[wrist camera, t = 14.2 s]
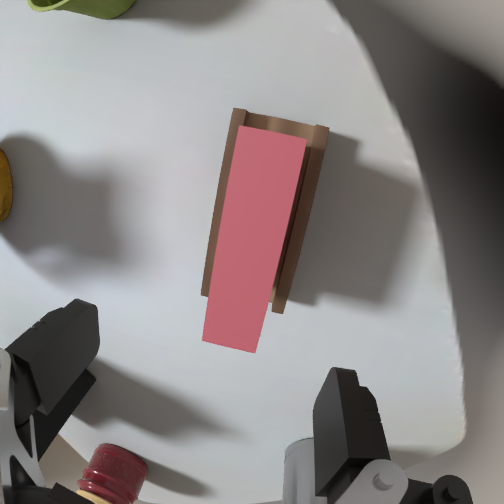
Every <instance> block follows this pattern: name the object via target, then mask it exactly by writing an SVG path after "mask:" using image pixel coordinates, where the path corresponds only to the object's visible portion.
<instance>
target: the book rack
mask: <svg viewBox="0 0 504 504" xmlns="http://www.w3.org/2000/svg"><path fill="white" fill-rule="evenodd" d="M239 125H240V126H246V127H251V128H256V129H262V130H267V131H272V132H277V133H281V134H286V135H290V136H295V137H299V138H304V139H307V142H306V147H305V151H304V156H303V160H302V165H301V169H300V174H299V178H298V182H297V187H296V191H295V196H294V200H293V204H292V208H291V213H290V217H289V221H288V225H287V230H286V234H285V238H284V242H283V246H282V250H281V254H280V258H279V263H278V267H277V271H276V275H275V279H274V283H273V287H272V291H271V294H270V298H269V302H271V303H272V312H275V313H280V314H283V312H284V308H285V305H286V301H287V298H288V294H289V290H290V287H291V283H292V280H293V276H294V272H295V269H296V265H297V261H298V257H299V254H300V250H301V246H302V242H303V238H304V234H305V230H306V226H307V223H308V219H309V215H310V210H311V206H312V202H313V198H314V194H315V190H316V186H317V181H318V177H319V173H320V169H321V164H322V160H323V155H324V151H325V146H326V142H327V137H328V133H329V128H328V127H325V126H321V125H315V126H312V125H308V124H303V123H299V122H295V121H290V120H285V119H281V118H276V117H271V116H266V115H260V114H255V113H249V112H248V111H247V110H244V109H238V108H233V112H232V117H231V122H230V127H229V132H228V137H227V142H226V147H225V152H224V157H223V162H222V168H221V173H220V178H219V184H218V189H217V195H216V201H215V207H214V212H213V218H212V224H211V230H210V236H209V243H208V249H207V255H206V262H205V268H204V275H203V282H202V289H201V295H202V296H206V297H208V296H209V290H210V283H211V277H212V271H213V265H214V259H215V253H216V247H217V241H218V235H219V229H220V223H221V218H222V212H223V207H224V201H225V196H226V190H227V185H228V179H229V174H230V169H231V164H232V159H233V153H234V148H235V143H236V138H237V133H238V129H239Z"/></svg>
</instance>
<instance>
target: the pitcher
mask: <svg viewBox="0 0 504 504" xmlns="http://www.w3.org/2000/svg"><path fill="white" fill-rule="evenodd" d="M10 175H11V174H10V168H9V163H8V160H7V157H6V156H5V153H4V152H3V150H1V149H0V222H2V221H4V219H6V217H7V215H9V213H10V208H11V205H12V200H13V199H12V188H13V187H12V185H11V176H10Z"/></svg>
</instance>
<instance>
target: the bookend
mask: <svg viewBox="0 0 504 504" xmlns="http://www.w3.org/2000/svg"><path fill="white" fill-rule="evenodd" d="M95 381H96V379H95V378H94V377H93V376H92V375H90V374H89V372H88V371H87V370H85V369H84V371H83V372H82V373H81V374H80V376H79V377H78V378H77V379H76V380H75V382H74V383H73V384H72V385H71V387H70V388H69V389H68V390H67V392H66V393H65V394H64V395H63V397H62V398H61V399H60V400H59V402H58V403H57V404H56V405H55V407H54V408H53V409H52V411H51V412H50V413H49V414H48V416H47V415H45V414H44V413H42V412H40V411H39V410H37V409H36V410H35V411H34V412H33V414H32V416H33V419H34V432H35V443H36V452H37V460H38V462H39V460H40V459H41V457H42V456H43V454H44V453H45V451H46V450H47V448H48V447H49V445H50V444H51V442H52V441H53V439H54V438H55V437H56V435H57V434H58V432H59V431H60V429H61V428H62V427H63V425H64V424H65V422H66V421H67V420H68V418H69V417H70V415H71V414H72V412H73V411H74V410H75V408H76V407H77V405H78V404H79V403H80V401H81V400H82V399H83V397H84V396H85V394H86V393H87V392H88V390H89V389H90V388H91V386H92V385H93V384H94V382H95Z"/></svg>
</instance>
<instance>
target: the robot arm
mask: <svg viewBox="0 0 504 504" xmlns="http://www.w3.org/2000/svg"><path fill="white" fill-rule="evenodd" d="M99 345H100V336H99V323H98V310H97V307H96V305H94V304H91V303H88V302H86V301H83V300H80V299H74V300H73V301H72V302H70V303H69V304H68V305H67V306H66V307H64V308H62V307H61V308H58V309H56V310H53V311H51V312H49V313H47V314H46V315H45V316H44V317H43V318H41V319H40V321H38V322H36V323H35V324H34V325H33V326H32V328H31V327H30V328H29V329H28V330H27V331H26V332H24V333H23V334H22V335H21V336H20V337H19V338H17V339H16V340H15V341H14V342H13V343H12V344H10V345H9V346H8V347H7V348H6V349H5V350H4V349H2V348H0V504H95V503H94V502H92V501H91V500H89V499H87V498H85V497H83V496H81V495H79V494H77V493H74V492H73V491H71V490H69V489H67V488H65V487H64V486H62V485H60V484H58V483H56V484H55V485H54V487H53V488H52V489H50V488H46V485H45V482H44V479H43V476H42V474H41V471H40V469H39V465H38V460H37V452H36V443H35V432H34V419H33V416H32V414H33V412H34V411H35V410H36V409H37V410H39V411H40V412H42V413H44V414H45V415H47V416H48V414H49V413H50V412H51V411H52V409H53V408H54V407H55V405H56V404H57V403H58V402H59V400H60V399H61V398H62V397H63V395H64V394H65V393H66V392H67V390H68V389H69V388H70V387H71V385H72V384H73V383H74V382H75V380H76V379H77V378H78V377H79V376H80V374H81V373H82V372H83V371H84V369H85V368H86V367H87V366H88V365H89V363H90V362H91V361H92V360H93V359H94V357H95V356H96V354H97V352H98V349H99ZM313 433H314V438H312V439H305V440H301V441H298V442H295V443H293V444H291V445H290V446H289V447H288V448H287V449H286V452H285V462H284V464H285V467H284V483H283V499H282V504H473V502H472V498H471V494H470V491H469V488H468V486H467V484H466V483H465V482H464V481H463V480H462V479H461V478H459V477H457V476H454V475H445V476H443V477H441V478H439V479H438V480H437V481H436V482H435V483H433V484H430V483H425V482H420V481H416V480H411V479H409V478H408V477H407V475H406V473H405V471H404V470H403V468H402V467H401V466H399V465H398V464H397V463H395V462H393V461H391V459H390V455H389V451H388V447H387V442H386V438H385V434H384V430H383V426H382V423H381V418H380V415H379V413H378V407H377V403H376V400H375V398H374V396H373V395H372V394H371V392H370V391H369V390H368V388H367V387H363V386H360V385H359V381H358V377H357V373H356V371H355V370H350V369H344V368H337V367H332V368H331V369H330V371H329V373H328V375H327V378H326V380H325V382H324V384H323V386H322V388H321V390H320V392H319V394H318V396H317V398H316V401H315V404H314V409H313Z"/></svg>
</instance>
